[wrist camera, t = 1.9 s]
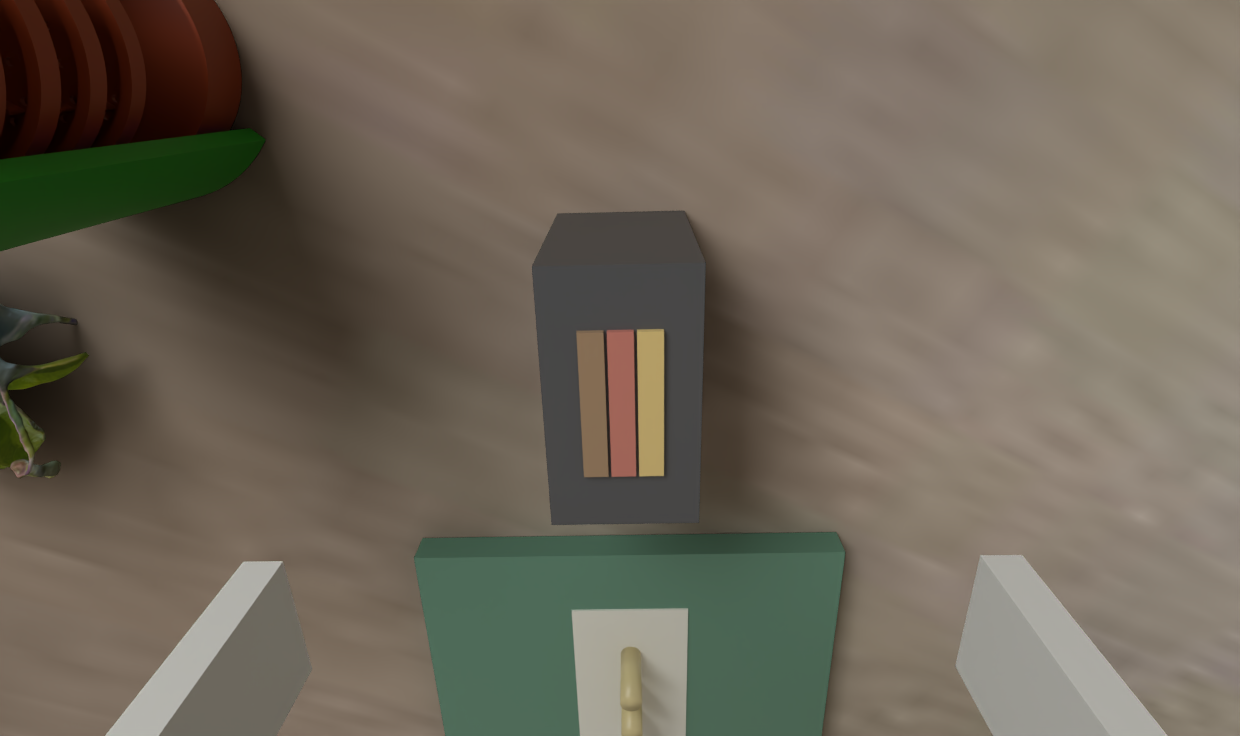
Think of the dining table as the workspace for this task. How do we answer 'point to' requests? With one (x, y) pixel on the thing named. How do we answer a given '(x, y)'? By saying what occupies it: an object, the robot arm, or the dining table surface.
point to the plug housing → (621, 366)
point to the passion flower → (3, 426)
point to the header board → (632, 633)
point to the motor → (113, 111)
